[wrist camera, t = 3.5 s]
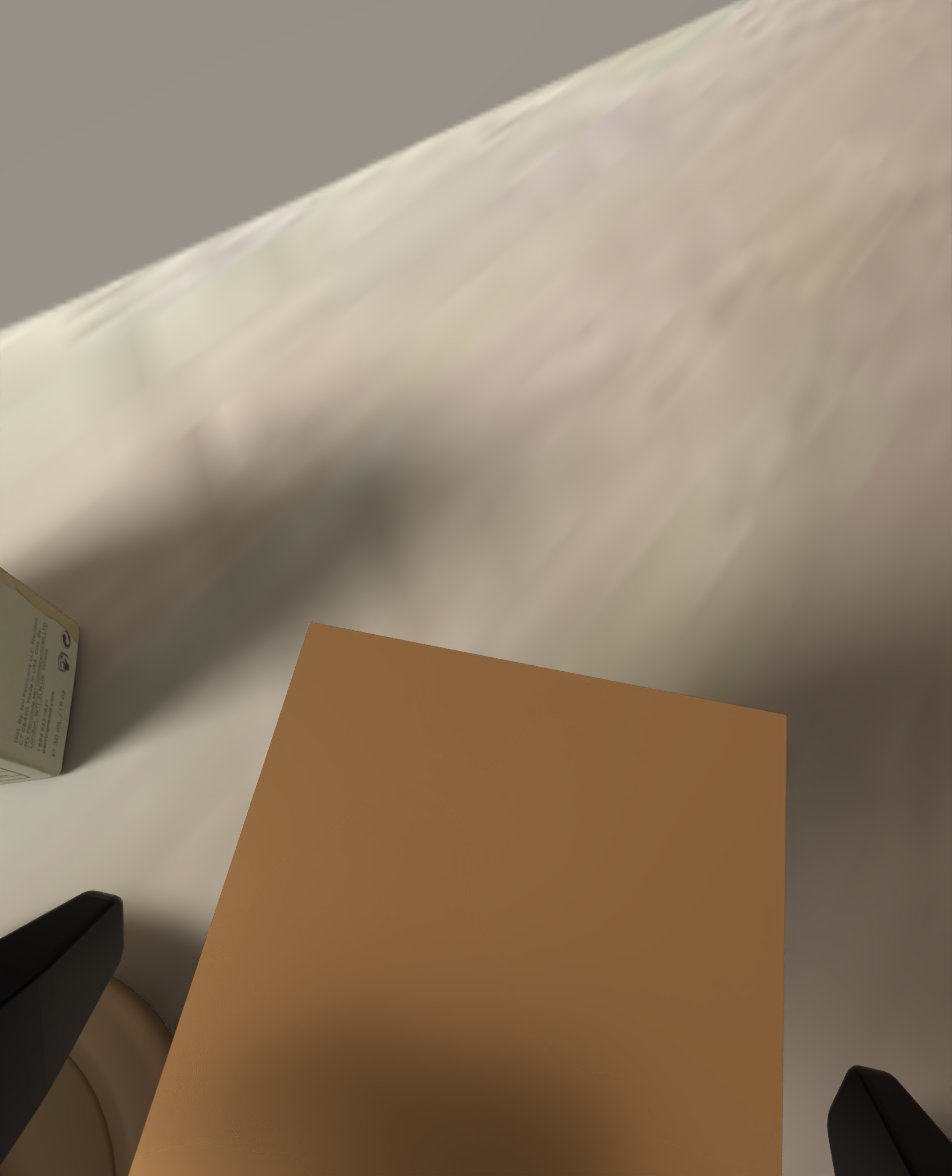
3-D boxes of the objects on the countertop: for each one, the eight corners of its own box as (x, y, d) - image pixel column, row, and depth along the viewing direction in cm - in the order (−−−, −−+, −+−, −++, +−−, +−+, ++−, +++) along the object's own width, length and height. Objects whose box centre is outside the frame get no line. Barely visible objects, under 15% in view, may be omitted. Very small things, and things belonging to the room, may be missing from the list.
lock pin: (540, 1041, 16) (780, 1390, 4) (373, 1003, 16) (116, 1215, 4) (565, 861, 17) (786, 715, 5) (413, 828, 18) (309, 621, 6)
